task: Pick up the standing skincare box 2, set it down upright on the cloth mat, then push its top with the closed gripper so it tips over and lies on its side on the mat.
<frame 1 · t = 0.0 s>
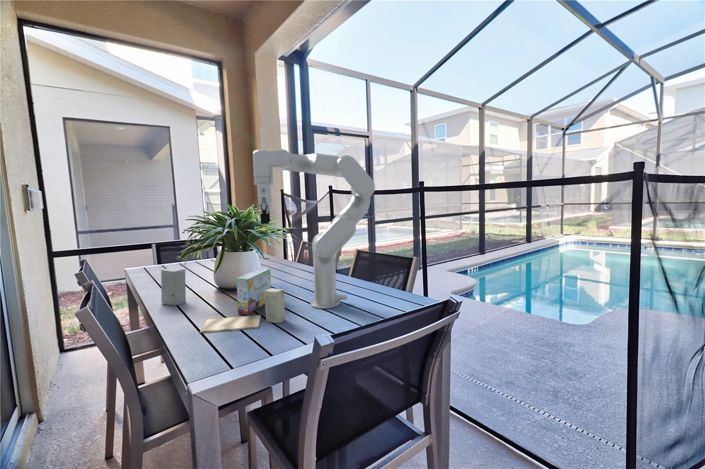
hand: (265, 222, 142), 37 cm above the table, tool pointing down, fingers open, 9 cm apart
skincare box 2: (275, 321, 132), on the table
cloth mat: (232, 324, 129), on the table
skincare box: (174, 303, 157), on the table
snack box: (255, 306, 150), on the table
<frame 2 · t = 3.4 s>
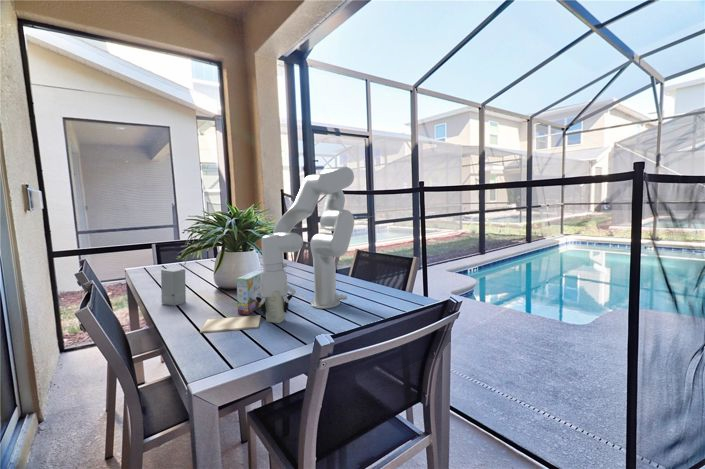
hand: (275, 312, 132), 3 cm above the table, tool pointing down, fingers closed on skincare box 2, 7 cm apart
skincare box 2: (275, 321, 132), on the table, touching gripper
everything else where it was.
when the fingers open (5 cm above the table, at t = 9.0 s): skincare box 2 drops 1 cm, resting on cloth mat.
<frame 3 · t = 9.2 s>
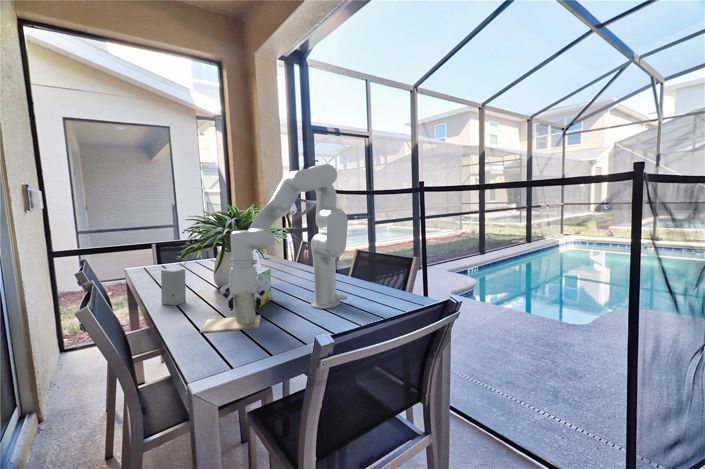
hand: (245, 308, 129), 6 cm above the table, tool pointing down, fingers open, 9 cm apart
skincare box 2: (245, 322, 130), resting on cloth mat
everything else where it was.
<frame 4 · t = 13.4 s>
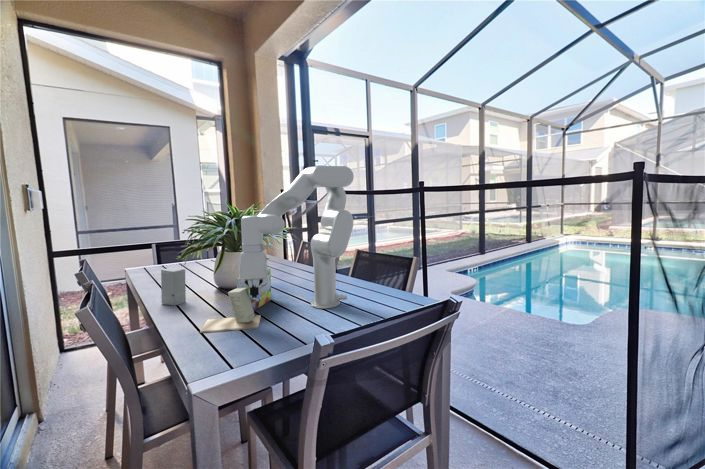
hand: (254, 296, 129), 10 cm above the table, tool pointing down, fingers closed
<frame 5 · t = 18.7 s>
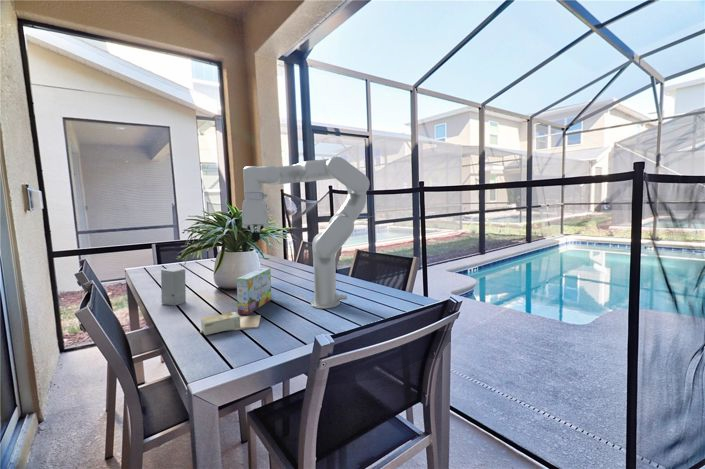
hand: (256, 241, 142), 29 cm above the table, tool pointing down, fingers closed
skincare box 2: (238, 319, 127), point 3 cm above the table, touching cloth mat
everything else where it was.
at the end: skincare box 2 tilted 90°; skincare box 2 inside the target area on the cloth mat (3.1 cm from its centre), point 2.8 cm above the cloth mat's base; the gripper is holding nothing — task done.
